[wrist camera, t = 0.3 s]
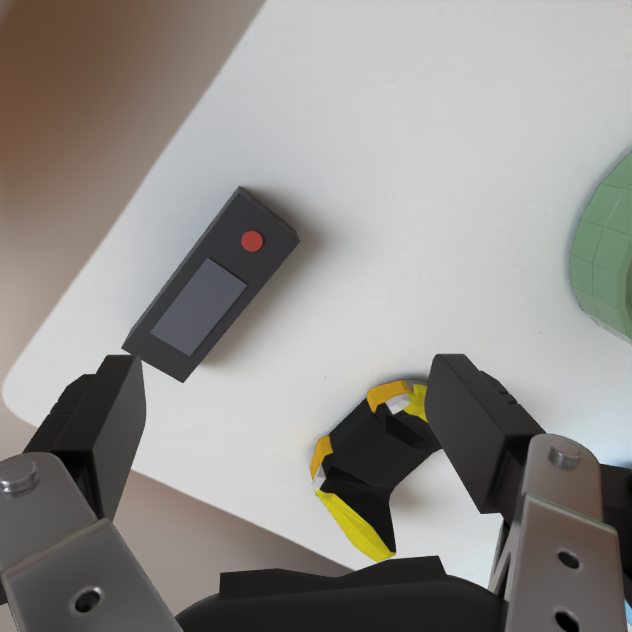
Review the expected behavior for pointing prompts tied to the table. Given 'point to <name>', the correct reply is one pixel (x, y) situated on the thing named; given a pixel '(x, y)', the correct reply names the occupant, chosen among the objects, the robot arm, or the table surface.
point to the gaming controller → (373, 462)
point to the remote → (212, 286)
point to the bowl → (606, 254)
